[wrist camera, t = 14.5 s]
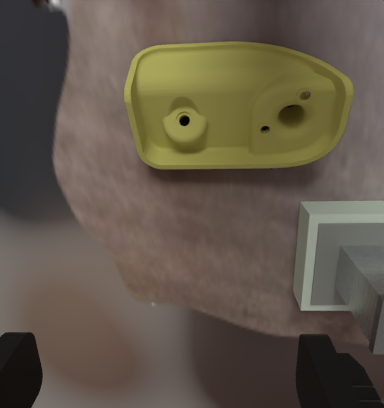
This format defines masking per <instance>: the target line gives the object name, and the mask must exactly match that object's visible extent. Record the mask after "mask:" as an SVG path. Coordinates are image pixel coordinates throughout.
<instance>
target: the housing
mask: <svg viewBox="0 0 384 408" xmlns="http://www.w3.org/2000/svg"><path fill="white" fill-rule="evenodd" d="M335 287H336V289H337V290H338V292H339V294H340V295H341V297H342V299H343V300H344V302H345V303H346V305H347V307H348V308H349V310H350V312H351V313H352V315H353V316H354V318H355V320H356V321H357V323H358V325H359V326H360V328H361V330H362V331H363V333H364V334H365V336H366V338H367V339H368V341H369V349H370V350H371V352H372V354H384V245H341V246H340V251H339V258H338V266H337V273H336V280H335Z"/></svg>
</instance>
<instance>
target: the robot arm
mask: <svg viewBox="0 0 384 408" xmlns="http://www.w3.org/2000/svg"><path fill="white" fill-rule="evenodd" d="M42 375H43V374H42V367H41V362H40V358H39V354H38V349H37V345H36V340H35V336H34V335H33V334H32V333H30V332H29V333H28V332H26V333H25V332H22V333H21V332H8V333H4V334H3V335H2V336H1V337H0V408H31V407H32V405H33V403H34V402H35V399H36V397H37V396H38V394H39V391H40V388H41V385H42V378H43V376H42ZM296 389H297V394H298V399H299V402H300V406H301V408H384V405H383V403H381V400H380V397H379V395H378V393H377V392H376V390H375V388H373V384H372V382H371V380H370V379H369V377H368V375H367V373H366V371H365V369H364V368H363V367H362V366H361V365H360V364H359V363H358V362H357V361H356V360H355V359H354V358H353V357H352V356H351V355H349V354H347V353H337V352H336V350H335V348H334V346H333V344H332V342H331V340H330V338H329V336H328V335H327V334H301V335H300V337H299V344H298V355H297V366H296Z"/></svg>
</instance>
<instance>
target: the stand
mask: <svg viewBox="0 0 384 408" xmlns="http://www.w3.org/2000/svg"><path fill="white" fill-rule="evenodd" d="M341 245H384V201H312V202H300V210H299V222H298V234H297V246H296V258H295V270H294V282H293V293H294V295H295V298H296V300H297V303H298V305H299V308H300V310H301V311H350V310H349V308H348V307H347V305H346V303H345V302H344V300H343V299H342V297H341V295H340V294H339V292H338V290H337V289H336V287H335V280H336V273H337V266H338V258H339V251H340V246H341Z"/></svg>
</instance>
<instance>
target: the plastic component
mask: <svg viewBox="0 0 384 408" xmlns="http://www.w3.org/2000/svg"><path fill="white" fill-rule="evenodd" d="M305 91H308V92H310V93H309V95H308V96H306V95H305ZM353 96H354V89H353V86H352V82H351V81H350V79H349V78H348V77H347V76H345V75H344V74H343V73H341V72H340V71H339V70H337V69H336V68H334V67H332V66H331V65H329V64H327V63H325V62H323V61H321V60H319V59H317V58H315V57H312V56H310V55H307V54H305V53H302V52H299V51H296V50H292V49H289V48H285V47H281V46H276V45H271V44H264V43H256V42H239V41H228V42H210V43H191V44H173V45H157V46H153V47H149V48H147V49H144V50H143V51H141V52H139V53H138V54H137V55H136V56H135V57H134V58H133V60H132V63H131V67H130V70H129V74H128V77H127V81H126V84H125V89H124V98H125V104H126V108H127V112H128V117H129V121H130V125H131V129H132V133H133V137H134V141H135V145H136V149H137V153H138V155H139V157H140V158H141V159H142V160H143V162H145V163H146V164H147V165H149V166H151V167H153V168H157V169H252V168H284V167H294V166H300V165H304V164H308V163H311V162H313V161H316V160H318V159H320V158H321V157H323V156H325V155H326V154H327V153H329V152H330V151H331V150H332V149H333V148H334V147H335V146H336V145H337V144H338V142H339V141H340V139H341V137H342V135H343V133H344V131H345V128H346V124H347V120H348V116H349V112H350V108H351V104H352V100H353ZM289 105H294V106H293V107H290V108H284V107H286V106H289ZM184 116H187V117H189V118H190V123H189V124H188V125H187V126H181V125H180V119H181V118H182V117H184ZM263 126H268V127H269V128H268V129H267V130H262V129H261V128H262V127H263Z"/></svg>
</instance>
